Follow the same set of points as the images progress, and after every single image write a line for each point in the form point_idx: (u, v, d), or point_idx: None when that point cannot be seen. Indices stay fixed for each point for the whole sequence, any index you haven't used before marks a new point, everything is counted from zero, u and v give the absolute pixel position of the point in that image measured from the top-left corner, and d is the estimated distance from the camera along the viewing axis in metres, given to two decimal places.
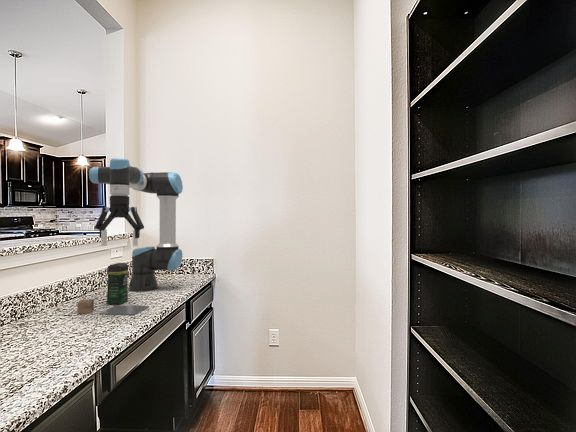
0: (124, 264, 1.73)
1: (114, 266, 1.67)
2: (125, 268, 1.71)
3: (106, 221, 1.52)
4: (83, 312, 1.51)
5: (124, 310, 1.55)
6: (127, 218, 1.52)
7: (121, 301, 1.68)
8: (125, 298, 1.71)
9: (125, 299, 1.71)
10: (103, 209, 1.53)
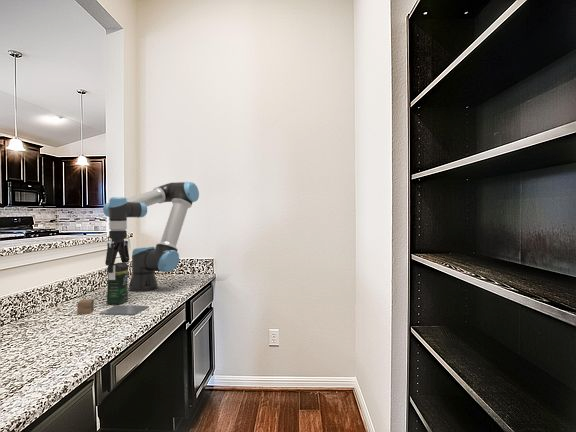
0: (124, 264, 1.72)
1: None
2: (125, 268, 1.70)
3: None
4: (83, 312, 1.51)
5: (124, 310, 1.55)
6: None
7: (121, 301, 1.68)
8: (125, 298, 1.70)
9: (125, 299, 1.71)
10: None
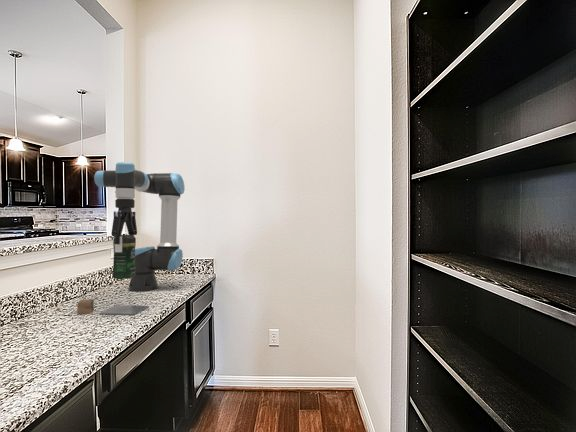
0: (131, 236, 1.58)
1: None
2: (133, 240, 1.56)
3: None
4: (83, 312, 1.51)
5: (124, 310, 1.55)
6: None
7: (128, 276, 1.53)
8: (132, 273, 1.56)
9: (132, 274, 1.56)
10: None
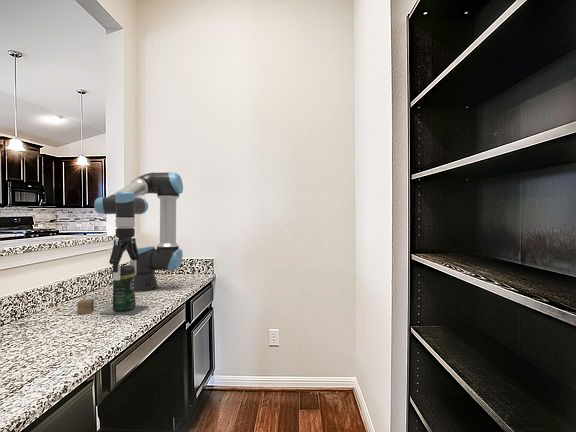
0: (130, 267, 1.58)
1: None
2: (131, 271, 1.56)
3: None
4: (83, 312, 1.51)
5: None
6: None
7: (128, 307, 1.53)
8: (132, 304, 1.56)
9: (132, 305, 1.56)
10: None
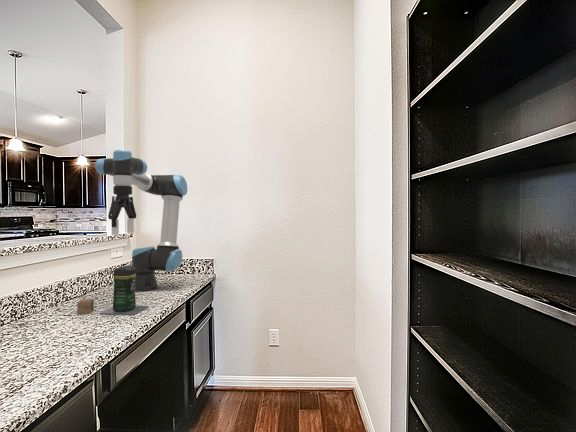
0: (131, 267, 1.58)
1: (121, 269, 1.52)
2: (133, 272, 1.56)
3: None
4: (83, 312, 1.51)
5: None
6: None
7: (128, 308, 1.53)
8: (132, 304, 1.56)
9: (133, 306, 1.56)
10: None
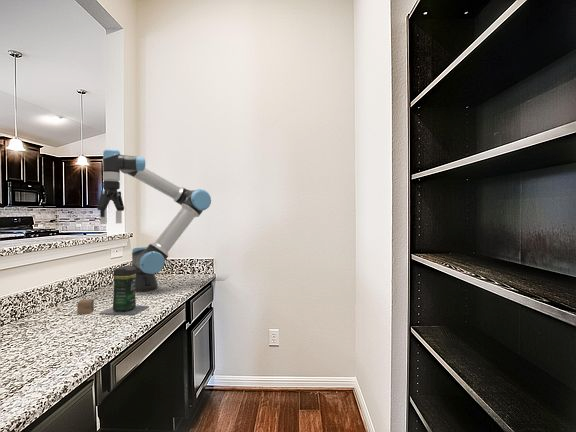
0: (131, 267, 1.58)
1: (121, 269, 1.52)
2: (133, 272, 1.56)
3: None
4: (83, 312, 1.51)
5: None
6: None
7: (128, 308, 1.53)
8: (132, 304, 1.56)
9: (133, 306, 1.56)
10: None
